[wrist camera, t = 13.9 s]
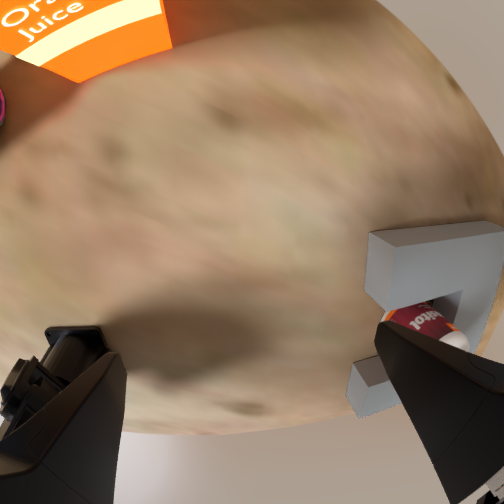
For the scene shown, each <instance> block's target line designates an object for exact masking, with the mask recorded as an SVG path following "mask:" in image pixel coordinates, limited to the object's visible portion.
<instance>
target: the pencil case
mask: <svg viewBox="0 0 504 504" xmlns="http://www.w3.org/2000/svg"><path fill="white" fill-rule="evenodd" d="M5 110H6V109H5V98H4V95H3V93H2V90H1V88H0V125H1V124H2V122H3V120H4V117H5Z"/></svg>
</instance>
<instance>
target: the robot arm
mask: <svg viewBox="0 0 504 504" xmlns="http://www.w3.org/2000/svg"><path fill="white" fill-rule="evenodd" d="M94 331H95V332H97V333H98V334H96V333H95V332H94ZM49 333H50V334H49ZM45 336H46V338H47V340H48V342H49V345H50V347H49V348H48V350H47V352H46V353H45V355H44V356H43V358H42V360H41V361H40V362H39V361H38V359H37V358H36V357H35V356H33V357H32V358H31V359H30V360H23V359H20V358H19V360H18V361H17V362H16V364H15V366H14V367H13V369H12V370H11V372H10V373H9V375H8V377H7V379H6V380H5V382H4V384H3V386H2V388H1V390H0V392H1V396H2V401H1V408H0V414H1V415H2V416H3V417H4V418H5V419H4V421H3V423H2V425H1V427H0V504H113V500H114V488H115V478H116V469H117V460H118V453H119V445H120V438H121V432H122V425H123V419H124V411H125V395H126V381H127V373H126V369H125V367H124V364H123V362H122V359H121V357H120V355H119V353H117V352H111V351H110V349H109V348H108V347H107V344H106V342H105V339H104V336H103V334H102V331H101V329H99V328H98V327H74V328H47V329H46V330H45ZM374 343H375V347H376V350H377V352H378V354H379V357H380V359H381V361H382V364H383V366H384V368H385V371H386V373H387V376H388V378H389V380H390V382H391V384H392V385H393V387H394V389H395V391H396V393H397V395H398V396H399V398H400V400H401V402H402V404H403V406H404V408H405V410H406V412H407V413H408V415H409V417H410V419H411V421H412V423H413V425H414V427H415V429H416V431H417V433H418V435H419V437H420V439H421V441H422V443H423V445H424V447H425V449H426V451H427V453H428V455H429V457H430V459H431V462H432V464H433V466H434V468H435V470H436V472H437V475H438V477H439V479H440V481H441V484H442V486H443V488H444V490H445V493H446V495H447V497H448V500H449V502H450V504H459V503H460V502H461V501H463V500H464V499H466V498H467V497H468V496H470V495H471V494H472V493H474V492H475V491H476V490H478V489H479V488H480V487H481V486H483V485H484V484H485V483H486V484H487V486H488V488H489V489H490V490H489V491H488V492H487V493H486V494H484V495H483V496H482V497H481V498H480V499H478V500H477V503H476V504H504V364H501V363H498V362H494V361H492V360H489V359H486V358H483V357H480V356H477V355H475V354H472V353H470V352H466V351H465V350H462V349H460V348H457V347H455V346H452V345H450V344H447V343H445V342H442V341H440V340H437V339H435V338H432V337H430V336H427V335H425V334H422V333H420V332H418V331H415V330H413V329H410V328H408V327H405V326H403V325H400V324H398V323H396V322H393V321H391V320H386V321H382V322H380V323H379V324H378V327H377V331H376V336H375V340H374Z"/></svg>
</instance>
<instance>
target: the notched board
mask: <svg viewBox="0 0 504 504" xmlns="http://www.w3.org/2000/svg"><path fill="white" fill-rule="evenodd" d="M503 265H504V227H501V226H499V225H496V224H494V223H491V222H489V221H475V222H465V223H454V224H444V225H434V226H424V227H414V228H404V229H394V230H384V231H374V232H369V239H368V253H367V265H366V276H365V285H364V291H365V292H366V293H367V294H368V295H369V296H370V297H372V298H373V299H374V300H375V301H376V302H377V303H378V304H379V305H380V306H381V307H382V308H383V309H384V310H385V311H386V312H388V311H392V310H396V309H399V308H403V307H407V306H411V305H414V304H418V303H421V302H425V301H428V300H431V299H434V300H433V304H432V308H433V309H435V310H436V311H437V312H438V313H440V314H441V315H442V316H443V317H444V318H446V319H447V320H448V321H449V322H450V323H452V324H453V325H454V326H455V327H456V328H457V329H459V330H460V331H461V332H462V333H463V334H464V335H465V336H466V337H467V339H468V342H469V352H471V353H473V354H475V351H476V349H477V346H478V344H479V342H480V339H481V336H482V334H483V331H484V329H485V326H486V323H487V320H488V317H489V314H490V311H491V308H492V305H493V302H494V299H495V295H496V292H497V288H498V285H499V281H500V277H501V273H502V269H503ZM346 397H347V399H348V400H349V402H350V404H351V406H352V408H353V410H354V411H355V413H356V415H357V417H358V418H359V419H360V418H363V417H366V416H369V415H371V414H374V413H377V412H380V411H382V410H385V409H387V408H390V407H392V406H395V405H397V404H400V403H402V402H401V400H400V398H399V396H398V395H397V393H396V391H395V389H394V387H393V385H392V384H391V382H390V380H389V378H388V376H387V373H386V371H385V368H384V366H383V364H382V361H381V359H380V357H379V356H376V357H372V358H369V359H365V360H362V361H358V362H355V363H353V364H352V369H351V374H350V378H349V383H348V388H347V392H346Z"/></svg>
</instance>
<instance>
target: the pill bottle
mask: <svg viewBox="0 0 504 504" xmlns="http://www.w3.org/2000/svg"><path fill="white" fill-rule="evenodd" d="M386 320H391V321H393V322H396V323H398V324H400V325H403V326H405V327H408V328H410V329H413V330H415V331H418V332H420V333H422V334H425V335H427V336H430V337H432V338H435V339H437V340H440V341H442V342H445V343H447V344H450V345H452V346H455V347H457V348H460V349H462V350H465V351H466V352H469V342H468V339H467V337H466V336H465V335H464V334H463V333H462V332H461V331H460V330H459V329H457V328H456V327H455V326H454V325H453V324H452V323H450V322H449V321H448V320H447V319H446V318H444V317H443V316H442V315H441V314H440V313H438V312H437V311H436V310H435V309H433V308H432V307H431V306H430V305H429V304H427V303H426V302H421V303H418V304H414V305H411V306H407V307H403V308H399V309H396V310H392V311H388V312H385V313H384V315H383V317H382V319H381V322H382V321H386ZM470 353H471V352H470ZM472 354H473V353H472Z"/></svg>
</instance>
